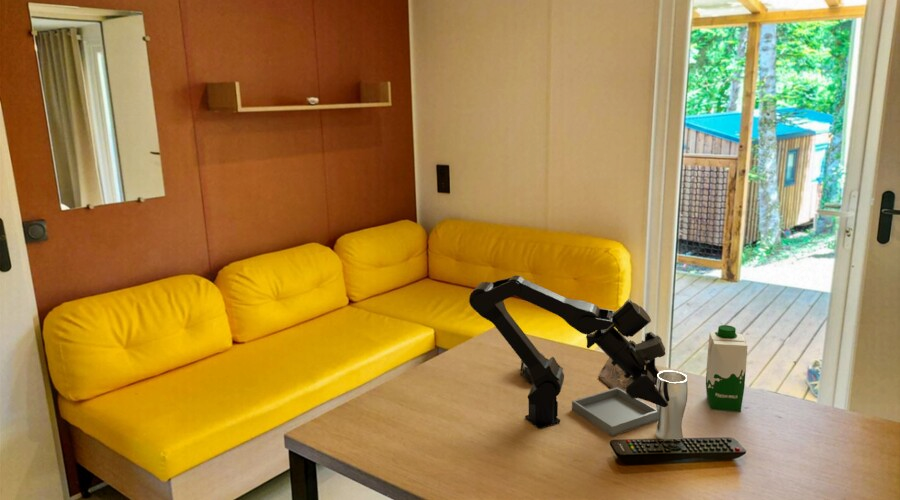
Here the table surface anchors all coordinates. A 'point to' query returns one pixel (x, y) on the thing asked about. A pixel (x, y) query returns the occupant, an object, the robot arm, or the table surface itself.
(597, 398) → the tray
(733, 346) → the milk carton
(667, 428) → the metal tumbler
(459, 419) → the table surface
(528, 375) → the caster wheel
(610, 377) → the wooden fragment
